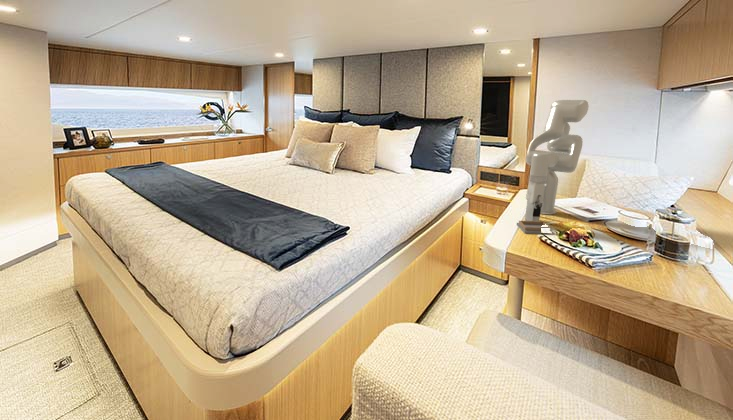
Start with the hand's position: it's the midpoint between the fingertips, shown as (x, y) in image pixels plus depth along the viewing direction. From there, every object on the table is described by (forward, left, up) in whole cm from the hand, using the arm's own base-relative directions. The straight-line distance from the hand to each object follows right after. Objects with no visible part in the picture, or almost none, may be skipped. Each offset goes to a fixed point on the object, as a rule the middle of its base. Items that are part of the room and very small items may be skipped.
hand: (532, 213), depth 177 cm
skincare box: (0, 0, -4) cm, 4 cm away
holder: (+12, -3, -4) cm, 13 cm away
